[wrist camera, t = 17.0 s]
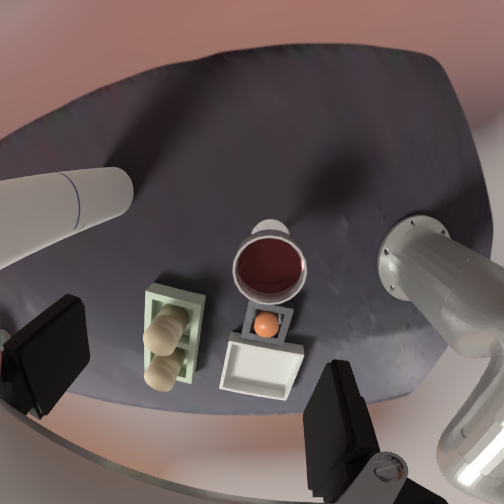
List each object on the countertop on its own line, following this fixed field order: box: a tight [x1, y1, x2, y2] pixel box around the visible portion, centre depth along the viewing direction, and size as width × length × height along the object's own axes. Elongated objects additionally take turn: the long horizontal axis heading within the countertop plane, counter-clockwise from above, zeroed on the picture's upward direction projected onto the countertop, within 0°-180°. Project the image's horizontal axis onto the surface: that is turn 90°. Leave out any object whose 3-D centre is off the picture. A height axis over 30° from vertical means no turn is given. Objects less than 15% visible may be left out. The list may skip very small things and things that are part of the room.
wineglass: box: [233, 219, 307, 305], centre depth 32 cm, size 7×7×12 cm
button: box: [254, 310, 279, 337], centre depth 39 cm, size 3×3×3 cm
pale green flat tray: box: [144, 283, 206, 384], centre depth 41 cm, size 8×15×3 cm, turn 168°
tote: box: [219, 331, 304, 400], centre depth 42 cm, size 11×10×2 cm
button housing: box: [241, 299, 294, 346], centre depth 39 cm, size 6×6×2 cm
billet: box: [144, 347, 186, 391], centre depth 39 cm, size 4×4×7 cm
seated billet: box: [143, 303, 189, 356], centre depth 37 cm, size 4×4×7 cm
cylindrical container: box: [0, 167, 133, 269], centre depth 25 cm, size 7×7×25 cm
